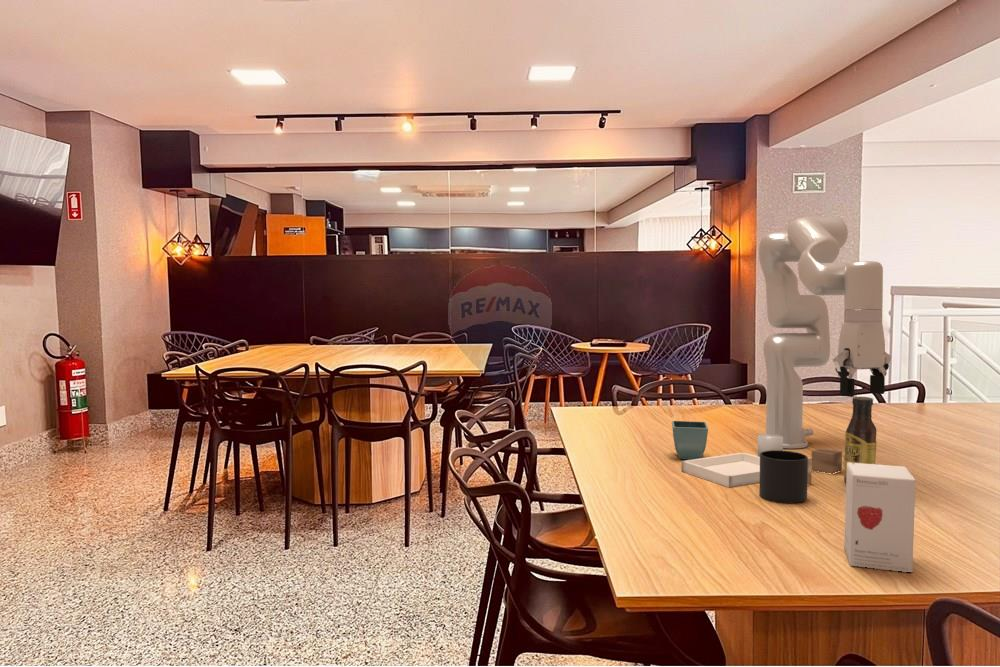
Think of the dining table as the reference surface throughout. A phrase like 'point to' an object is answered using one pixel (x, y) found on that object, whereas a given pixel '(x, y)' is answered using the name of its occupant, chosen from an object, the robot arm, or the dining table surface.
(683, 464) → the tray
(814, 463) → the walnut cube
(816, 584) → the dining table surface
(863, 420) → the sauce bottle
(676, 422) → the flower pot
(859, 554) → the supplement box
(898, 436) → the dining table surface
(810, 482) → the beech block
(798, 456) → the mug
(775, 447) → the white rounded block
